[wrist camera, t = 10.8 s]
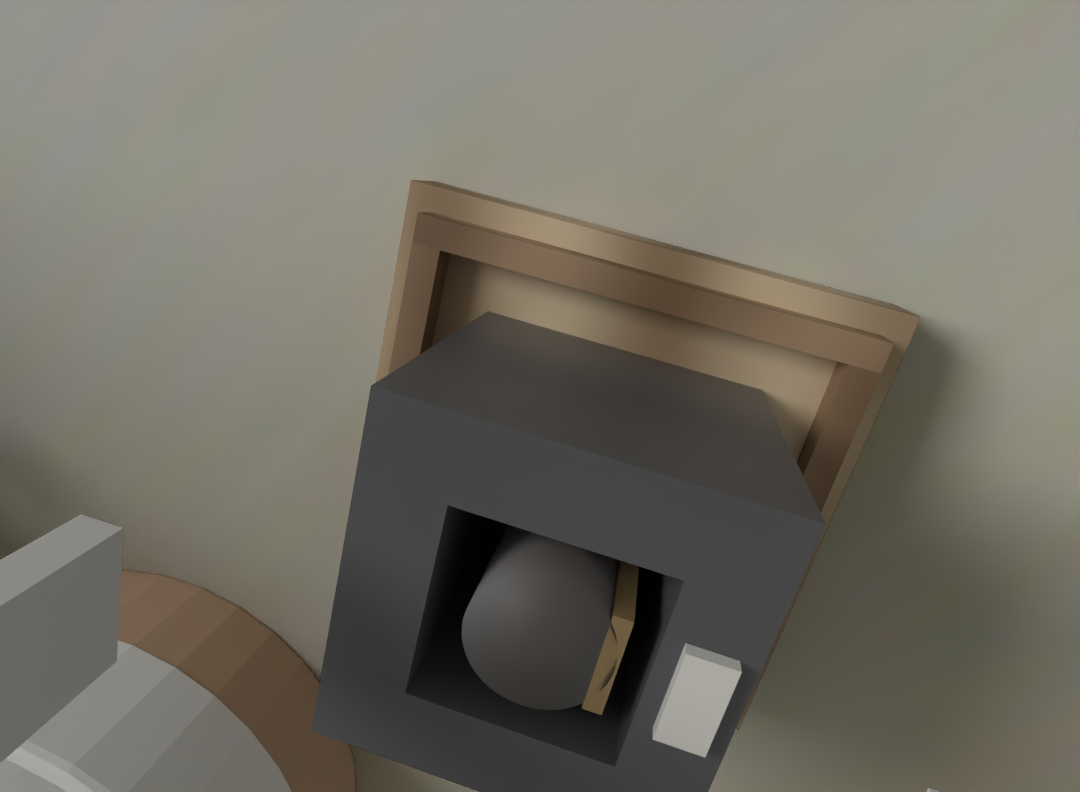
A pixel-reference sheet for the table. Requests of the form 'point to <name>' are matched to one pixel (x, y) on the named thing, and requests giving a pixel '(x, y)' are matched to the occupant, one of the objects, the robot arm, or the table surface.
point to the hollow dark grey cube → (574, 518)
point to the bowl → (186, 708)
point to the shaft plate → (649, 330)
